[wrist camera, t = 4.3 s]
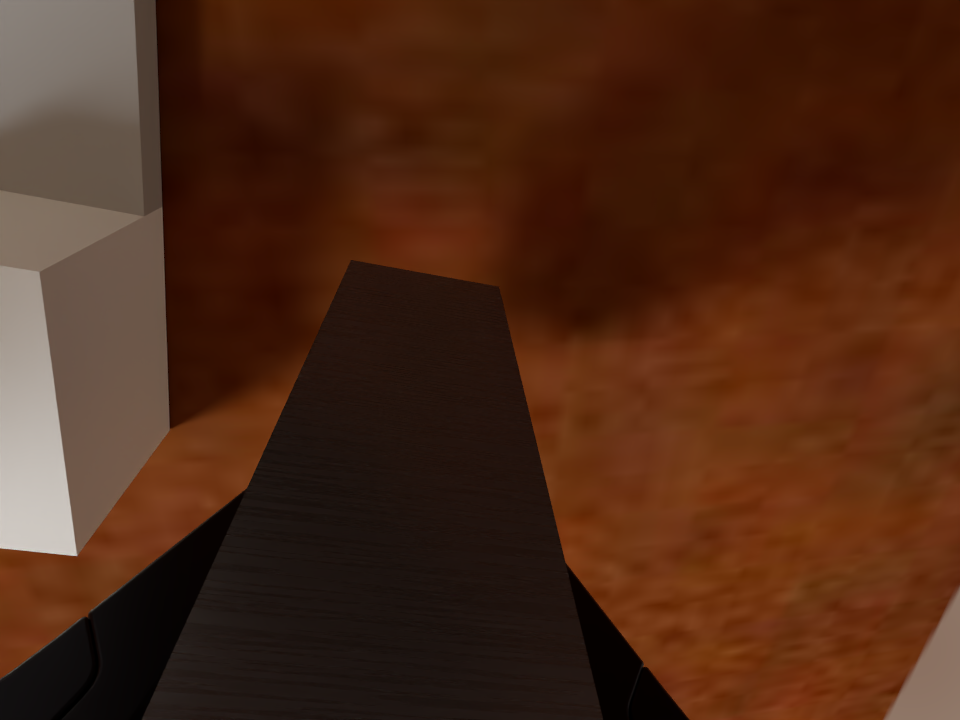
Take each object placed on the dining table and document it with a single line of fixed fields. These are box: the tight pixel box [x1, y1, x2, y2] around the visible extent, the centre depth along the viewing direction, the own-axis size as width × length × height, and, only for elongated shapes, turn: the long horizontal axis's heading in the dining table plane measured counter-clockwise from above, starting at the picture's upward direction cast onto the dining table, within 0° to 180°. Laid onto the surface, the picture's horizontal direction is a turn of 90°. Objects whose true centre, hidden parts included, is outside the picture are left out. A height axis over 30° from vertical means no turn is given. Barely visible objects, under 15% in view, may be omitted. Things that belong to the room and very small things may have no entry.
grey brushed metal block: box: [142, 260, 603, 720], centre depth 8 cm, size 5×3×10 cm, turn 168°
